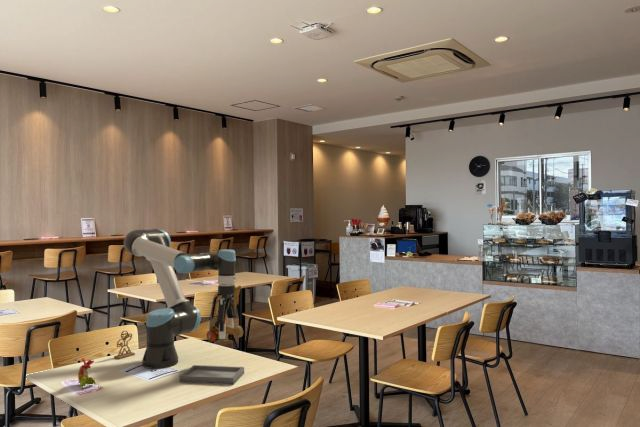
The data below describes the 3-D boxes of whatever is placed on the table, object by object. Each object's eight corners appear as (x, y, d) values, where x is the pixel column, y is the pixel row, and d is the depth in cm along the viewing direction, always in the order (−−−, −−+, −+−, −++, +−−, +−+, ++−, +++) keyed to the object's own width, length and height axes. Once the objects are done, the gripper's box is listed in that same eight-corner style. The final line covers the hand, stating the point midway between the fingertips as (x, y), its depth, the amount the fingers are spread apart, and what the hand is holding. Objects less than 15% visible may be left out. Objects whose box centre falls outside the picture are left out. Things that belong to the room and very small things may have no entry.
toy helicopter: (219, 337, 222) (219, 307, 222) (249, 344, 209) (249, 312, 209) (204, 340, 216) (204, 309, 216) (234, 348, 202) (234, 315, 203)
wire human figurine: (118, 359, 222) (118, 333, 222) (113, 358, 224) (113, 332, 224) (135, 354, 230) (135, 329, 230) (129, 353, 232) (129, 328, 232)
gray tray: (179, 382, 191) (179, 375, 191) (193, 371, 205) (193, 365, 205) (233, 384, 188) (233, 378, 188) (244, 373, 202) (244, 367, 202)
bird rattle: (72, 392, 186) (82, 387, 181) (67, 363, 189) (77, 358, 184) (89, 388, 191) (99, 383, 186) (84, 360, 194) (93, 354, 189)
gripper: (226, 288, 202) (226, 342, 202) (242, 281, 224) (242, 329, 224) (209, 288, 203) (208, 341, 203) (226, 281, 225) (226, 329, 225)
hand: (226, 335), depth 214 cm, fingers closed on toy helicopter, 10 cm apart
